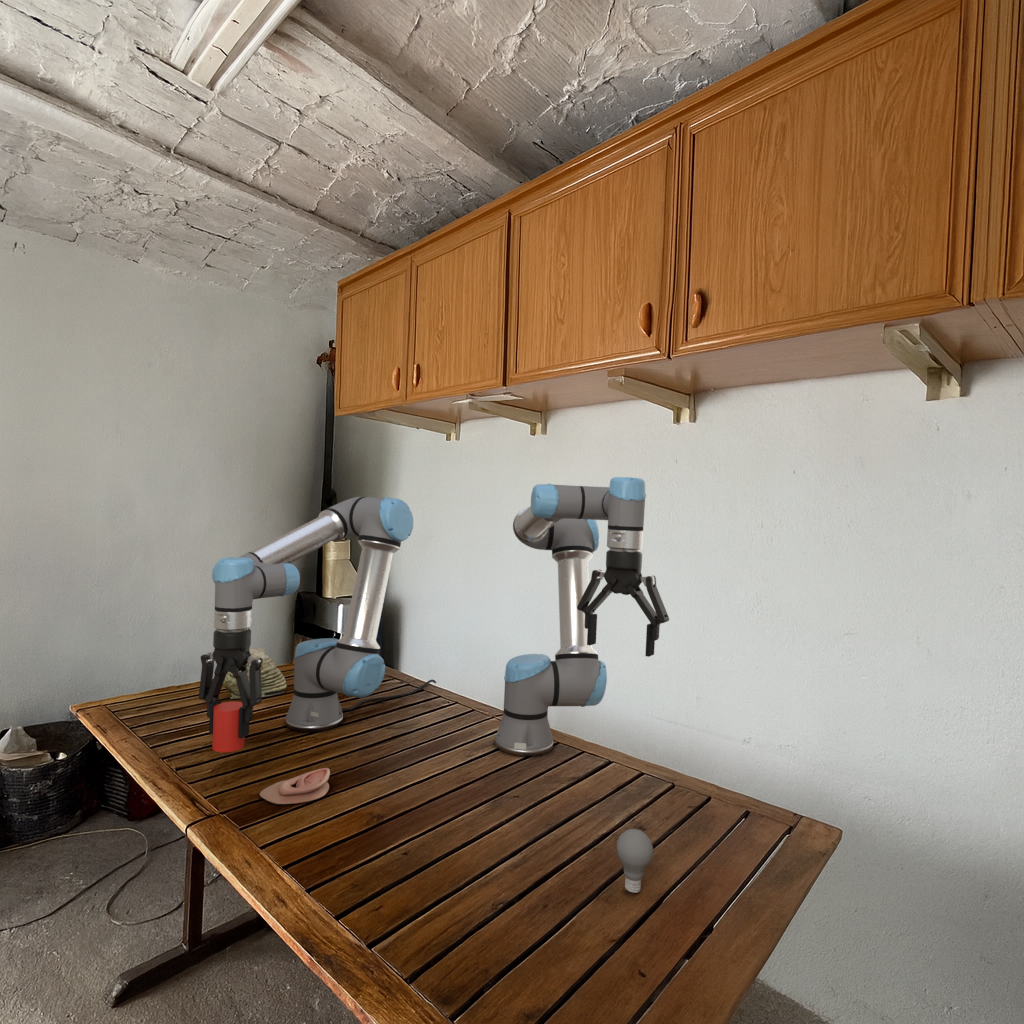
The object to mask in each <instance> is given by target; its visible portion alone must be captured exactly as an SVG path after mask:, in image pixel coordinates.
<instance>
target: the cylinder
mask: <svg viewBox="0 0 1024 1024" xmlns="http://www.w3.org/2000/svg"><path fill="white" fill-rule="evenodd" d="M242 706H243V705H242V701H225V702H221V703H220V704H217V705H216V706H214V712H213V734H212V740H211V741H212V743H211V745H212V746H211V749H212V751H214V752H216V753H233V752H236V751H239V750H241V749H242V748H244V747H245V737H243V738H238V729H239V708H240V707H242Z"/></svg>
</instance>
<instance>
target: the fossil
mask: <svg viewBox="0 0 1024 1024" xmlns="http://www.w3.org/2000/svg"><path fill="white" fill-rule="evenodd" d="M249 651H250V653H251V656H252V657H255V658H257V659H258V658H262V659H263V662H262V666H261V689H262V698H264V697H271V696H275V695H281V694H284V693H285V691H286V689H287V687H288V686H287V680H286V678H285V676H284V674H283V673H282V672H281V669H279V668H278V667H277V665H276V663H275V662H274V660H273V659H272V658H271V657H270V656H269V655H268V654H267V653H266V652H265V650H264V649H263V648H260V647H258V648H251V647H250V648H249ZM248 665H249V662H248V663H247V664H246V666H247V670H248V673H247V675H248V679H249V669H250V667H248ZM239 672H241V671H239ZM249 683H250V682H249ZM222 686H223V687H224V688H225V690H226V691H228V693H229V698H230V699H241V697H240V693H239V689H238V686H237V682H236V678H234V676H233V673H231V672H228V673H227V674H226V677H225V680H224V682H223V685H222Z"/></svg>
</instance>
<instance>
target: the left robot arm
mask: <svg viewBox="0 0 1024 1024" xmlns="http://www.w3.org/2000/svg"><path fill="white" fill-rule="evenodd" d="M413 529H414V515H413V512H412V511H411V508H410V506H409V504H407V502H406V501H404V500H402V499H400V498H393V497H389V496H387V497H383V496H381V497H379V496H355V497H352V498H348V499H345V500H343V501H341V502H338V503H336V504H333V505H332V506H329V507H327V508H325V509H323V510H322V511H320V512H319V514H318V516H317V517H316V518H314V519H311V520H310V521H308V522H306V523H303V524H302V525H300V526H297V527H295V528H294V529H292V530H290V531H288V532H286V533H284V534H282V535H280V536H278V537H276V538H274V539H272V540H270V541H268V542H266V543H265V544H262V545H260V546H259V547H256V548H254V549H252V550H251V551H248V552H246V553H244V554H242V555H240V556H237V557H235V556H231V557H229V556H228V557H221V558H220V559H218V561H217V562H216V563H215V564H214V566H213V567H212V570H211V578H212V581H213V583H214V613H213V614H214V616H213V628H214V629H215V630H214V631H213V638H212V646H213V648H214V650H213V651H212V652H207V653H204V654H202V655H200V663H201V671H200V672H201V673H200V680H199V681H200V682H199V690H198V699H199V700H200V701H205V703H206V717H207V719H209V721H208V722H209V723H208V735H211V736H213V712H214V706H216V705H217V704H220V703H222V701H221V700H220V699H221V697H219V696H220V693H221V691H222V688H223V686H224V685H223V682H224V680H225V677H226V674H227V673H228V672H231V673H233V676H234V678H236V682H237V686H238V689H239V693H240V697H241V698H240V700H241V701H240V702H242V705H243V706H242V707H240V708H239V729H238V738H243V737H244V738H245V737H246V736H248V735H250V722H251V721H253V717H254V716H253V715H254V707H255V706H257V705H259V704H261V703H262V702H263V697H262V689H261V666H262V662H263V659H262V658H258V659H257V658H255V657H252V656H251V653H250V651H249V648H250V649H251V645H252V630H251V627H252V625H253V602H254V600H257V599H267V598H275V597H277V598H278V597H284V596H288V595H292V594H294V593H295V592H297V590H298V588H299V587H300V583H301V582H300V580H301V575H300V572H299V569H298V568H297V567H296V566H295V565H294V564H292V563H294V562H296V561H298V560H300V559H301V558H303V557H305V556H307V555H309V554H310V553H313V552H314V551H316V550H318V549H320V548H321V547H325V545H327V544H330V543H331V542H333V543H338V542H340V541H342V540H344V539H348V538H358V539H357V543H358V544H359V545H360V547H361V552H360V557H359V561H358V567H357V572H356V577H355V581H354V586H353V591H352V594H351V595H352V596H351V601H350V604H349V605H350V606H349V609H348V615H347V620H346V624H345V628H344V629H345V630H344V634H343V635H342V636H341V637H340V638H339V639H338V638H335V637H333V638H332V637H329V638H315V639H308V640H304V641H302V642H299V643H298V644H297V645H296V646H295V652H294V653H295V654H294V656H293V659H294V660H293V662H294V663H293V665H294V667H293V695H292V696H293V697H292V699H291V702H290V704H289V708H288V711H287V713H286V715H285V726H286V728H287V729H289V730H291V731H294V732H295V731H296V732H301V733H316V732H325V731H329V730H332V729H335V728H337V727H339V726H340V725H342V723H343V722H344V714H343V712H348V711H349V712H350V711H353V710H355V709H356V708H358V706H360V705H362V704H364V703H368V702H373V701H383V700H389V699H395V698H396V699H397V698H401V697H406V696H410V695H412V694H415V693H417V692H419V691H420V690H421V689H422V688H425V687H426V686H427V685H429V684H430V683H434V684H437V681H436V680H435V679H429V680H428V681H426V682H424V683H423V684H422V685H420V686H419V687H417V688H415V689H414V690H411V691H408V692H404V693H398V694H393V695H388V696H380V697H371V698H367V697H370V696H371V695H372V694H373V693H374V692H375V691H377V690H378V688H380V686H381V684H382V682H383V681H384V677H385V673H386V664H385V660H384V659H383V658H382V656H381V655H380V652H381V646H380V644H379V643H378V641H377V638H378V632H379V627H380V622H381V616H382V613H383V608H384V602H385V597H386V593H387V587H388V582H389V577H390V572H391V568H392V562H393V558H394V557H393V556H394V554H395V553H396V552H398V551H399V550H400V549H401V546H402V545H401V544H402V542H404V541H406V540H408V539H409V537H410V536H411V535H412V533H413V531H414V530H413ZM248 662H249V665H248V667H250V669H249V679H248V675H247V673H248V670H247V666H246V664H247V663H248ZM215 664H216V667H215ZM214 668H215V669H214ZM239 671H241V672H239ZM249 682H250V683H249ZM338 694H342V695H345V696H347V697H348V698H352V697H353V698H357V699H358V698H359V699H362V698H366V699H363V700H360V701H359V702H357V703H356V704H355V705H353V706H350V707H346V708H344V707H343V708H342V706H341V702H340V699H339V695H338Z"/></svg>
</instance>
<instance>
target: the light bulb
mask: <svg viewBox="0 0 1024 1024" xmlns="http://www.w3.org/2000/svg"><path fill="white" fill-rule="evenodd" d="M615 849H616V854H617V857H618V859H619V861H620V863H621V865H622V867H623V873H624V874H623V875H624V876H625V878H624V888H625V890H627V891H628V892H630V893H634V894H635V893H639V892H640V891H641V889H642V887H641V886H642V879H643V877H644V875H645V871H646V868H647V867H648V866H649V864H650V863H651V861H652V859H653V855H654V847H653V843H652V841H651V838H649V836H648V835H647V834H646V833H645V832H643V831H642V830H641V829H636V828H629V829H627V830H625V831H623V832H622V833H621V834H620V835H619V837H618V839H617V841H616V847H615Z"/></svg>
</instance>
